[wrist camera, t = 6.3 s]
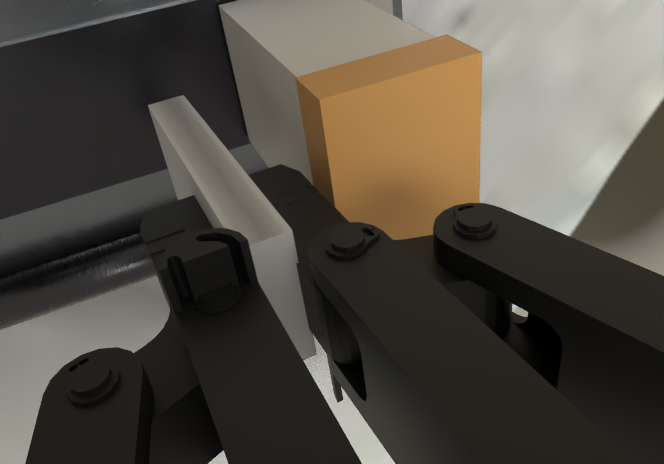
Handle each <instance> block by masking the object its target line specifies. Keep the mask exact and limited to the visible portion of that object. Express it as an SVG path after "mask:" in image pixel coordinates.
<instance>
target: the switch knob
mask: <svg viewBox="0 0 664 464" xmlns="http://www.w3.org/2000/svg"><path fill="white" fill-rule="evenodd" d="M218 6H219V10H220V15H221V19H222V24H223V28H224V32H225V37H226V41H227V45H228V50H229V54H230V58H231V63H232V67H233V72H234V76H235V80H236V85H237V89H238V93H239V98H240V102H241V106H242V111H243V115H244V120H245V124H246V128H247V133H248V137H249V141H250V142H251V144H252V145H253V146H254V148H255V149H256V151H257V152H258V153H259V155H260V156H261V158H262V159H263V160H264V162H265V163H266V164H267V166H268V167H269V168H270V167H273V166H276V165H279V164H282V165H284V166H287V167H290V168H293V169H295V170H298V171H300V172H301V173H302V174H303V175H304V176H305V177H306V178H307V179H308V180H309V181H310V182H311V185H314V186H315V187H316V188H317V190H318V191H319V192H320V194H321V195H323V196H324V197H325V198H326V199H327V200H328V201H329V202H330V203H331V204H332V205H333V206H334V207H335V208H336V209H337V210H338V211H339V212H340V213H341V214H342V215H343V216H344V217H345V218H346V219H347V220H348V221H349V222H361V223H366V224H371V225H374V226H376V227H377V228H379V229H381V230H383V231H384V232H385V233H386V234H387V235H388V236H389V237H391V238H392V239H393V240H401V239H409V238H415V237H422V236H428V235H433V226H434V222H435V218H436V217H437V216H438V215H439V214H440V213H441V212H442V211H444V210H446V209H448V208H451V207H453V206H455V205H460V204H466V203H479V187H480V132H481V77H482V52H481V51H479V50H477V49H475V48H473V47H471V46H469V45H467V44H465V43H463V42H461V41H459V40H457V39H455V38H453V37H451V36H449V35H443V36H440V37H434V36H432V35H430V34H428V33H426V32H424V31H422V30H421V29H419V28H417V27H415V26H413V25H411V24H409V23H407V22H405V21H403V20H401V19H399V18H397V17H395V16H393V15H391V14H389V13H388V12H386V11H384V10H382V9H380V8H378V7H376V6H374V5H372V4H370V3H368V2H366V1H364V0H238V1H234V2H230V3H225V4H221V5H218Z"/></svg>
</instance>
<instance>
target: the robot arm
mask: <svg viewBox="0 0 664 464" xmlns="http://www.w3.org/2000/svg"><path fill="white" fill-rule="evenodd" d="M148 107H149V111H150V114H151V117H152V120H153V123H154V126H155V129H156V133H157V136H158V139H159V142H160V145H161V148H162V151H163V155H164V158H165V161H166V164H167V167H168V170H169V173H170V177H171V180H172V183H173V186H174V189H175V192H176V196H177V199H178V201H175V202H172V203H169V204H166V205H163V206H160V207H157V208H154V209H151V210H148V211H145V213H144V216H143V219H142V222H141V225H140V231H141V234H142V236H143V239H144V242H145V244H146V247H147V250H148V252H149V255H150V258H151V260H152V263H153V266H154V269H155V271H156V274H157V277H158V279H159V282H160V285H161V287H162V290H163V292H164V295H165V297H166V300H167V302H168V305H169V307H170V314H169V319H168V320H167V322H166V324H165V326H164V328H163V329H162V330H161V331H160V333H159V334H158V335H157V336H156V337H155V338H154V339H153V340H151V341H150V342H149V343H148V344H147V345H145V346H144V347H142V348H141V349H140V350H138V351H137V352H135V353H134V354H133V353H132V352H131V351H128V350H125V349H121V348H117V347H116V348H103V349H97V350H95V351H92V352H89V353H86V354H83V355H81V356H79V357H77V358H76V359H74V360H73V361H71V362H69V363H68V364H66V365H65V366H63V367H62V368H61V369H60V371H59V372H58V373H57V374H56V375H55V376H54V377H53V378H52V379H51V380H50V382H49V384H48V386H47V388H46V390H45V392H44V394H43V397H42V401H41V405H40V409H39V413H38V417H37V421H36V425H35V428H34V432H33V436H32V440H31V444H30V448H29V452H28V456H27V459H26V463H25V464H208V463H209V462H210V461H211V460H212V459H214V458H215V457H216V456H217V455H218V454H219V453H221V452H222V451H223V450H224V452H225V455H226V458H227V461H228V463H229V464H362V463H361V461H360V460H359V458H358V456H357V454H356V453H355V451H354V449H353V447H352V446H351V444H350V442H349V440H348V439H347V437H346V435H345V433H344V432H343V430H342V428H341V426H340V425H339V423H338V421H337V419H336V418H335V416H334V414H333V412H332V410H331V409H330V407H329V405H328V403H327V402H326V400H325V398H324V396H323V395H322V393H321V391H320V389H319V388H318V386H317V384H316V382H315V381H314V379H313V377H312V375H311V374H310V372H309V370H308V368H307V367H306V365H305V363H304V361H303V360H305V359H307V358H309V357H312V356H314V355H316V354H317V353H316V348H315V343H314V338H313V334H314V336H315V337H316V339H317V340H318V342H319V343H320V345H321V346H322V348H323V349H324V351H325V352H326V353H327V358H328V363H329V369H330V374H331V380H332V385H333V391H334V394H335V397H336V400H337V402H340V401H342V400H343V396H342V390H341V387H342V388H343V389H344V391H345V392H346V394H347V395H348V397H349V398H350V399H351V401H352V402H353V404H354V405H355V406H356V408H357V409H358V411H359V412H360V414H361V415H362V416H363V418H364V419H365V421H366V422H367V424H368V425H369V426H370V428H371V429H372V431H373V432H374V434H375V435H376V436H377V438H378V439H379V441H380V442H381V444H382V445H383V446H384V448H385V449H386V451H387V452H388V454H389V455H390V456H391V458H392V459H393V461H394V462H395V464H664V276H662V275H660V274H658V273H655V272H653V271H650V270H648V269H645V268H643V267H641V266H638V265H636V264H634V263H631V262H629V261H627V260H624V259H621V258H619V257H617V256H614V255H612V254H610V253H607V252H605V251H602V250H600V249H598V248H595V247H593V246H591V245H588V244H586V243H584V242H581V241H579V240H576V239H574V238H571V237H569V236H567V235H564V234H562V233H560V232H557V231H555V230H552V229H550V228H548V227H545V226H543V225H541V224H538V223H536V222H533V221H531V220H529V219H526V218H524V217H521V216H519V215H517V214H514V213H512V212H510V211H507V210H505V209H502V208H500V207H496V206H493V205H489V204H485V203H466V204H460V205H455V206H453V207H451V208H448V209H446V210H444V211H442V212H441V213H440V214H439V215H438V216H437V217H436V218H435V222H434V226H433V235H428V236H422V237H415V238H409V239H401V240H393V239H392V238H391V237H389V236H388V235H387V234H386V233H385V232H384V231H383V230H381V229H379V228H377V227H376V226H374V225H371V224H366V223H361V222H349V221H348V220H347V219H346V218H345V217H344V216H343V215H342V214H341V213H340V212H339V211H338V210H337V209H336V208H335V207H334V206H333V205H332V204H331V203H330V202H329V201H328V200H327V199H326V198H325V197H324V196H323V195H321V194H320V192H319V191H318V190H317V188H316V187H315V186H314V185H311V182H310V181H309V180H308V179H307V178H306V177H305V176H304V175H303V174H302V173H301V172H300V171H298V170H295V169H293V168H290V167H287V166H284V165H282V164H279V165H276V166H273V167H270V168H268V169H265V170H262V171H259V172H256V173H253V174H250V175H247V173H246V172H245V171H244V170H243V168H242V167H241V166H240V165H239V163H238V162H237V161H236V160H235V158H234V157H233V156H232V155H231V153H230V152H229V151H228V150H227V148H226V147H225V146H224V145H223V144H222V142H221V141H220V140H219V139H218V137H217V136H216V135H215V134H214V132H213V131H212V130H211V129H210V127H209V126H208V125H207V124H206V122H205V121H204V120H203V119H202V117H201V116H200V115H199V114H198V112H197V111H196V110H195V109H194V108H193V106H192V105H191V104H190V103H189V101H188V100H187V99H186V98H185V96H184V95H182V96H178V97H174V98H171V99H167V100H164V101H160V102H157V103H154V104H150V105H148ZM512 303H513V304H515V305H516V306H518V307H520V308H522V309H524V310H526V311H528V317H522V316H520V315H517V314H515V313H513V312H512Z"/></svg>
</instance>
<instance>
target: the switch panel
mask: <svg viewBox="0 0 664 464" xmlns="http://www.w3.org/2000/svg"><path fill="white" fill-rule="evenodd" d="M234 1H238V0H0V330H1V329H4V328H7V327H10V326H13V325H16V324H18V323H21V322H24V321H27V320H30V319H33V318H36V317H39V316H42V315H44V314H47V313H50V312H53V311H56V310H59V309H62V308H65V307H67V306H70V305H73V304H76V303H79V302H82V301H85V300H88V299H91V298H93V297H96V296H99V295H102V294H105V293H108V292H111V291H114V290H116V289H119V288H122V287H125V286H128V285H131V284H134V283H137V282H140V281H142V280H145V279H148V278H151V277H154V276H157V274H156V271H155V269H154V266H153V263H152V260H151V258H150V255H149V252H148V250H147V247H146V244H145V242H144V239H143V236H142V234H141V231H140V225H141V222H142V219H143V216H144V213H145V211H148V210H151V209H154V208H157V207H160V206H163V205H166V204H169V203H172V202H175V201H178V199H177V196H176V192H175V189H174V186H173V183H172V180H171V177H170V173H169V170H168V167H167V164H166V161H165V158H164V155H163V151H162V148H161V145H160V142H159V139H158V136H157V133H156V129H155V126H154V123H153V120H152V117H151V114H150V111H149V107H148V105H150V104H154V103H157V102H160V101H164V100H167V99H171V98H174V97H178V96H182V95H184V96H185V98H186V99H187V100H188V101H189V103H190V104H191V105H192V106H193V108H194V109H195V110H196V111H197V112H198V114H199V115H200V116H201V117H202V119H203V120H204V121H205V122H206V124H207V125H208V126H209V127H210V129H211V130H212V131H213V132H214V134H215V135H216V136H217V137H218V139H219V140H220V141H221V142H222V144H223V145H224V146H225V147H226V148H227V150H228V151H229V152H230V153H231V155H232V156H233V157H234V158H235V160H236V161H237V162H238V163H239V165H240V166H241V167H242V168H243V170H244V171H245V172H246V173H247V175H250V174H253V173H256V172H259V171H262V170H265V169H268V168H269V167H268V166H267V164H266V163H265V162H264V160H263V159H262V158H261V156H260V155H259V153H258V152H257V151H256V149H255V148H254V146H253V145H252V144H251V142H250V141H249V137H248V133H247V128H246V124H245V120H244V115H243V111H242V106H241V102H240V98H239V93H238V89H237V85H236V80H235V76H234V72H233V67H232V63H231V58H230V54H229V50H228V45H227V41H226V37H225V32H224V28H223V24H222V19H221V15H220V10H219V6H218V5H221V4H225V3H230V2H234ZM364 1H366V2H368V3H370V4H372V5H374V6H376V7H378V8H380V9H382V10H384V11H386V12H388V13H389V14H391V15H393V16H395V17H397V18H399V19H401V20H403V19H402V1H401V0H364Z"/></svg>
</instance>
